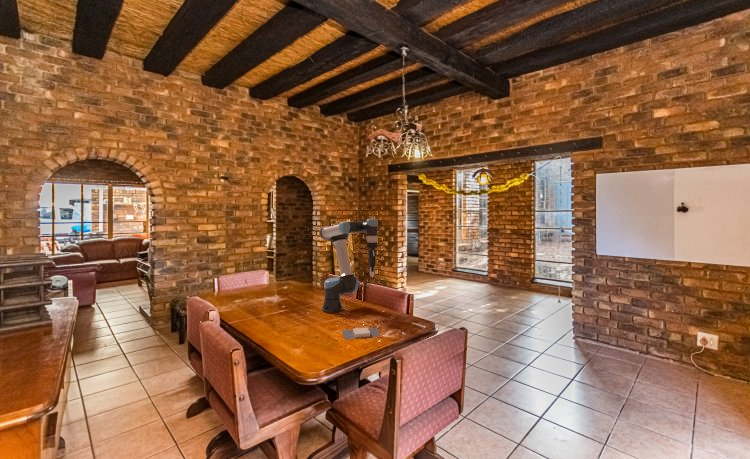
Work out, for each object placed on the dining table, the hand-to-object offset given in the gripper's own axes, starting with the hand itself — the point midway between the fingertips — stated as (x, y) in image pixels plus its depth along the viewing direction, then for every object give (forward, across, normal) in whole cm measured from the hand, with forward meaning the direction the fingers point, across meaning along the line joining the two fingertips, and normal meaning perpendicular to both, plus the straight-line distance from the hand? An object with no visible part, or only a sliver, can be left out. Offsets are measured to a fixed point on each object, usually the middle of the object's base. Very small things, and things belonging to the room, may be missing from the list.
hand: (372, 276), depth 228 cm
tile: (+28, +23, -12) cm, 38 cm away
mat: (+29, +26, -12) cm, 41 cm away
